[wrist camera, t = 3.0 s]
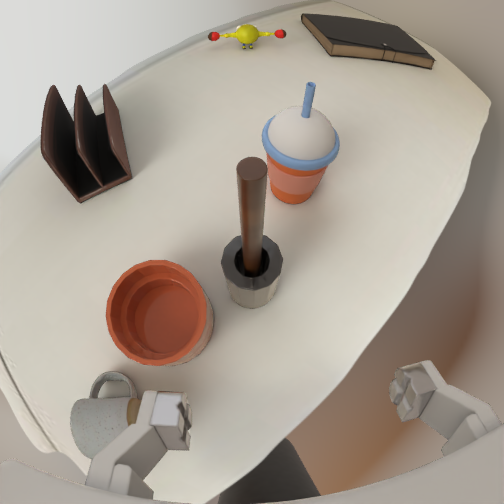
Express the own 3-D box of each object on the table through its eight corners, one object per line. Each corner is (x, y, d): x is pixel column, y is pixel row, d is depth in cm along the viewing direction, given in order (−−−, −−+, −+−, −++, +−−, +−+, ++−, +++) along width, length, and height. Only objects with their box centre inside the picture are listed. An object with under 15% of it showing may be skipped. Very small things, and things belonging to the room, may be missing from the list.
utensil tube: (281, 300, 35) (291, 278, 27) (237, 314, 34) (232, 297, 26) (266, 258, 37) (270, 226, 29) (223, 272, 36) (214, 243, 28)
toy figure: (283, 43, 58) (284, 21, 52) (286, 52, 56) (288, 29, 50) (209, 45, 57) (207, 23, 51) (209, 55, 55) (206, 32, 49)
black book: (332, 43, 52) (301, 11, 61) (330, 56, 56) (300, 22, 65) (436, 59, 54) (394, 23, 63) (432, 70, 58) (392, 32, 67)
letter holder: (79, 204, 40) (33, 150, 27) (75, 131, 47) (47, 81, 34) (133, 179, 42) (99, 114, 29) (119, 110, 49) (96, 55, 35)
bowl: (226, 351, 33) (220, 348, 27) (139, 374, 31) (118, 375, 26) (199, 265, 37) (190, 246, 31) (120, 290, 35) (99, 276, 30)
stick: (260, 288, 35) (272, 175, 14) (247, 293, 35) (241, 184, 14) (256, 276, 35) (261, 153, 15) (243, 280, 35) (232, 160, 15)
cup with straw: (304, 225, 39) (336, 128, 22) (247, 193, 40) (245, 89, 24) (332, 180, 41) (367, 84, 25) (280, 153, 43) (291, 54, 27)
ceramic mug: (165, 447, 28) (143, 464, 21) (109, 452, 27) (79, 465, 20) (142, 367, 32) (115, 364, 25) (88, 376, 31) (55, 373, 24)
